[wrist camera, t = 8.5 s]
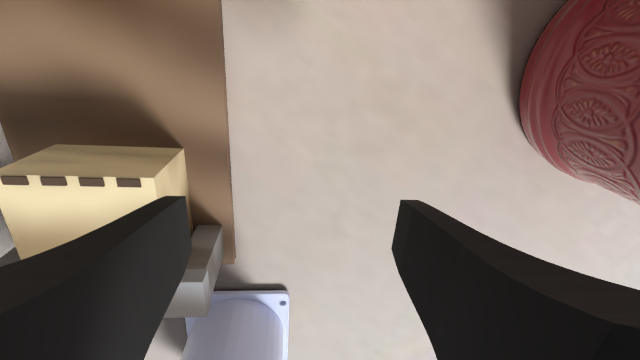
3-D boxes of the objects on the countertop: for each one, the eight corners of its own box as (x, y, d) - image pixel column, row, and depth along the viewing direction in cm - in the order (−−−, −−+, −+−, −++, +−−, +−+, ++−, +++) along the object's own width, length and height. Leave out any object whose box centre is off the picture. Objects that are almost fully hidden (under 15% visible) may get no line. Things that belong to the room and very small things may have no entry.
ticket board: (235, 256, 23) (217, 327, 17) (58, 257, 22) (-24, 333, 16) (219, -36, 16) (178, -81, 10) (-48, -61, 14) (-269, -128, 9)
